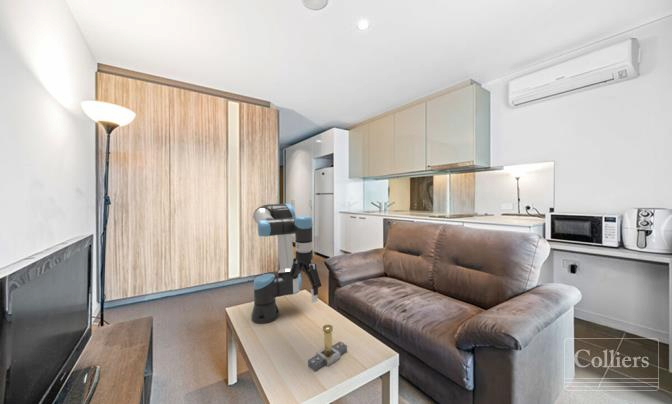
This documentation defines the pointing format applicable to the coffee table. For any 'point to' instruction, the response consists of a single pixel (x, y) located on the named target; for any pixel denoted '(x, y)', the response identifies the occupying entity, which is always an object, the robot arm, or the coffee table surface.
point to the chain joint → (322, 360)
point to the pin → (328, 339)
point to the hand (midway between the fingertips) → (304, 296)
